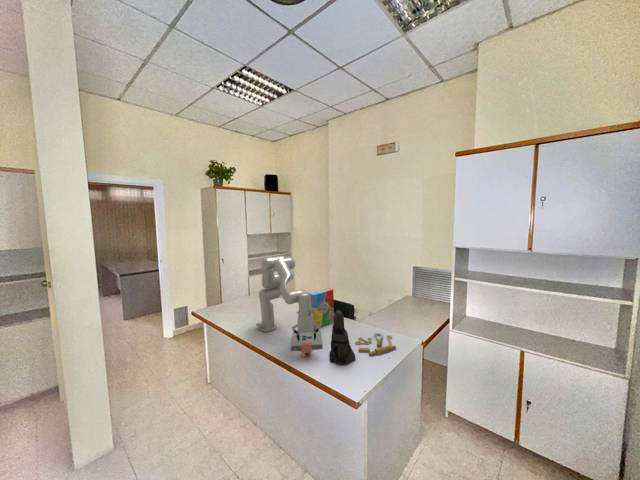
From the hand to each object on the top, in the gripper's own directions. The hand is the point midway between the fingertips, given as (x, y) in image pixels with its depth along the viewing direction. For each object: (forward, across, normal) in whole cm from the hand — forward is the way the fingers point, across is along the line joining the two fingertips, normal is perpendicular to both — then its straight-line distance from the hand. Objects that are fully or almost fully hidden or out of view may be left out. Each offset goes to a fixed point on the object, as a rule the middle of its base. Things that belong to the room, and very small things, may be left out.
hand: (306, 339), depth 156 cm
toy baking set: (+11, +45, +9) cm, 48 cm away
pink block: (+10, 0, +1) cm, 10 cm away
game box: (+10, +12, +42) cm, 44 cm away
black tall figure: (+10, +20, -6) cm, 23 cm away
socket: (+10, 0, +17) cm, 19 cm away
